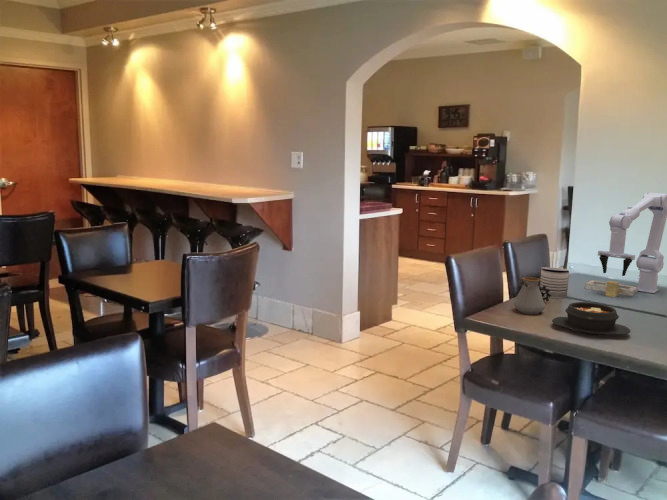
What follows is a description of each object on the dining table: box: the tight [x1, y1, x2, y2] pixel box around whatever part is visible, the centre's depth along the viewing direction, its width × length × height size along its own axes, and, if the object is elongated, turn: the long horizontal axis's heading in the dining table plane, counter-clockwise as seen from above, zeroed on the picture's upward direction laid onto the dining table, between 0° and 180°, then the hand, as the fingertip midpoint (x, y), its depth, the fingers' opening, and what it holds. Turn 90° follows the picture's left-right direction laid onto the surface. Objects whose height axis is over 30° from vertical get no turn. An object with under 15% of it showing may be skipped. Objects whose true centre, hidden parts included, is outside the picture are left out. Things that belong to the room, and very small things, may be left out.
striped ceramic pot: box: [539, 266, 570, 299], centre depth 257 cm, size 11×11×12 cm
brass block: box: [605, 280, 620, 298], centre depth 260 cm, size 4×4×6 cm
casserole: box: [551, 301, 631, 336], centre depth 207 cm, size 25×19×8 cm
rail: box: [584, 279, 639, 297], centre depth 270 cm, size 9×20×2 cm, turn 51°
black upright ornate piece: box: [538, 286, 551, 303], centre depth 242 cm, size 7×7×12 cm
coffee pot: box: [513, 276, 546, 315], centre depth 225 cm, size 21×12×15 cm, turn 150°
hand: (614, 274), depth 259 cm, fingers open, 7 cm apart
